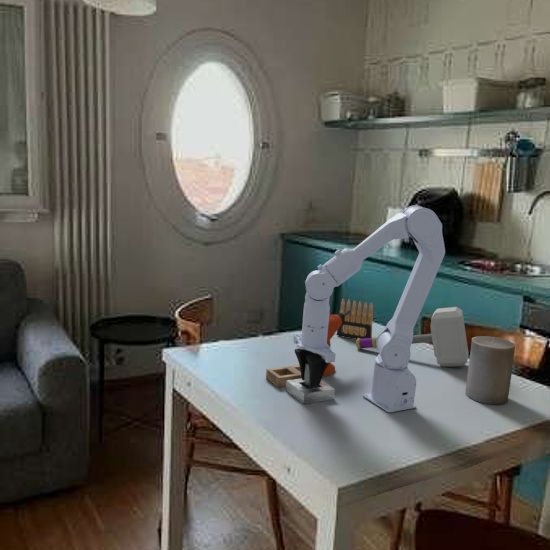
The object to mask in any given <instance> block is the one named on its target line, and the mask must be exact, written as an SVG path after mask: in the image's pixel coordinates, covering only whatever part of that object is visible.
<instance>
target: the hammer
mask: <svg viewBox="0 0 550 550" xmlns="http://www.w3.org/2000/svg"><path fill="white" fill-rule="evenodd" d="M430 322H431V323H430V333H427V334H416V335H415V334H413V341H412V343H411V345H412V344H415V345H416V344H429V343H431V344H432V347H433V354H434V357H435V358H436V362H437V364H438V365H439V366H441V367H442V368H444V367H445V368H447V367H461V366H462V367H463V366H465V365H466V364H467V362H468V359H469V347H468V341H467V333H466V327H465V318H464V312H463V310H462V308H459V307H458V306H451V307H443V308H442V307H441V308H436V310H435V311H434V312H433V314H432V316H431V318H430ZM376 339H377V337H374V336H373V337H372V338H364V339H360V338H357V339H355V340H356V341H355V346H356V348H357V349H358V350H362V349H371V348H374V349H377V346H376Z"/></svg>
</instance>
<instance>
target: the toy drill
mask: <svg viewBox="0 0 550 550" xmlns="http://www.w3.org/2000/svg"><path fill="white" fill-rule="evenodd" d="M349 313H350V314H351V309H350V310H347V311H346V310H345V312H344V313H343V314H342V313H340V312H339V313H336V314H329V323H328V335H327V345H328V346H329V347H330V348H331V339H333V337H334V335H335V334H337V330H338V329H339V328H340V326H341V324H342V322H343V321H344V320H345V316H346V315H348V314H349ZM335 370H336V366H335V365H334V364H333V363H332V362H330V363H329V365H328V366H327V368H326V370H325V372H324V374H323V376H322V377H326V376H329V374H330V375H332V374H333V373H334V372H335ZM331 373H332V374H331Z"/></svg>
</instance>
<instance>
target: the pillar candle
mask: <svg viewBox="0 0 550 550" xmlns="http://www.w3.org/2000/svg"><path fill="white" fill-rule="evenodd" d="M515 350H516V344H515V343H514V342H512V341H510V340H508V339H505V338H502V337H497V336H488V335H487V336H485V335H484V336H483V335H481V336H474V337H472V338H471V344H470V350H469V351H470V353H469V354H470V355H469V358H468V359H469V361H468V369H467V377H466V384H465V385H466V386H465V395H466V396H467V397H468V398H470V399H471V400H473V401H475V402H478V403H481V404H485V405H495V406H497V405H498V406H499V405H504V404H507V403H508V402H509V396H510V395H509V393H510V388H511V379H512V373H513V368H514V367H513V366H514V359H515V358H514V357H515Z"/></svg>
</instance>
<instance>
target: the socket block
mask: <svg viewBox="0 0 550 550" xmlns="http://www.w3.org/2000/svg"><path fill="white" fill-rule="evenodd" d="M285 391H286V392H287V391H288V392H289V394H290V395H291V396H292V395H293V398H295V399H296V398H297V401H299V403H301V404H303V405H305V404H306V403H307V404H312V402H313V403H317V402H324V401H325V402H326V401H329V400H335V392H336V389H335V388H334V387H333V386H331V385H330V384H328V383H327V382H325V381H323V380H322V379H321V382H320V385H319V386H317V388H312V389H307V388H305V387H304V381H303V380H302V378H301V379H294V380H287V381H286V387H285ZM288 392H287V393H288Z"/></svg>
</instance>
